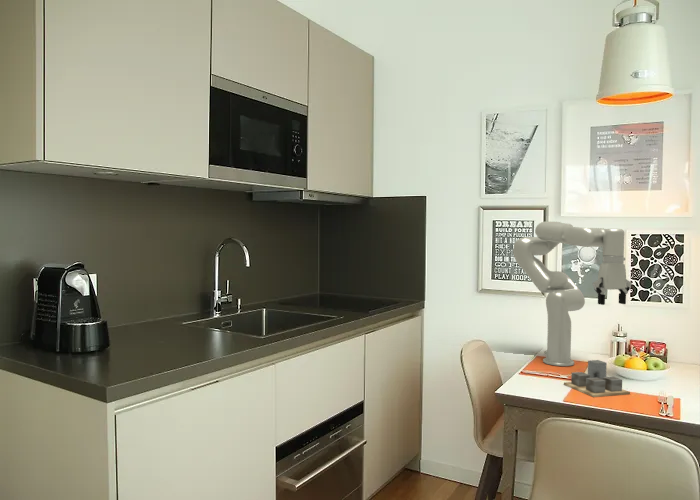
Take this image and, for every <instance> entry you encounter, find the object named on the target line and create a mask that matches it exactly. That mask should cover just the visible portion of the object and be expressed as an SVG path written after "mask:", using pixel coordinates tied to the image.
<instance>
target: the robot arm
mask: <svg viewBox="0 0 700 500" xmlns="http://www.w3.org/2000/svg"><path fill="white" fill-rule="evenodd" d="M534 231H535V232H534V233H535V236H524V237H520V238H518V239H516V241H515V242H514V243H513V247H512V248H513V249H512V250H513V251H512V252H513V257H514V259H515V262H516V263H517V264H518V266H519V267H520V268H521V269H522V270H523V271H524V273H525V274H526V275H527V277H528V278H529V279H530V280H531V282H532V283H533V285H534V286H535V287H536V289H538V291H539V292H540V293H543V294H547V295H546V297H545V298H546V299H545V306H546V312H547V313H546V314H547V339H546V341H547V343H546V345H547V346H546V350H545V351H543V354H544V355H545V357H544V358H543V359H542V362H543V363H544V364H546V365H550V366H557V367H569V366H570V367H571V366H574V365H575V361H574V360H573V359H572V358H571V354H572V353H571V352H572V351H571V349H572V348H571V347H572V320H571V316H570V314H569V312H576V311H580V310H581V309H582V308H584V306H585V303H586V301H585V300H586V299H585V296H584V294H583V292H582V291H581V289H580V288H579V287H578V285H577V284H576V283H575V282H574V281H573V280H572V279H571V278H570V276H569V275H568V274H567V273H565V272H563V271H558V270H554V271H553V270H549V269H548V268H547V267H546V266H545V264H544V262H542V260H540V259H539V258H537V257H536V256H545V255H548V254H549V253H550V252H551V251H553V250H554V249H555V248H556V247H557V246H558V245H559V244H565V245H570V246H577V247H583V248H585V247H586V248H589V247H590V248H597V247H598V248H601V247H602V263H600V265H599V269H598V272H597V273H598V274H597V279H596V280H595V281H594V282H592V286H593V289H594V291H595V293H596V294H597V304H598V305H602V306H604V305H606V294H605V292H606V291H609V290H611V291H612V290H618V291H619V293H618V304H620V305H621V304H622V305H626V303H627V294H628V292H629V291H630V290H631V286H632V284H633V282H631V281H630V280H628V279H627V270H626V264H624V263H625V261H626V257H625V230H623V229H622V228H604V227H600V228H599V227H579V226H574V225H572V224H571V223H566V222H565V223H564V222H561V221H548V220H547V221H542V222H539V223H538V224H537V225H536V226H535V229H534Z"/></svg>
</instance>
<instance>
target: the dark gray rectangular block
mask: <svg viewBox="0 0 700 500" xmlns="http://www.w3.org/2000/svg"><path fill="white" fill-rule="evenodd" d="M607 367H608V366H607V362H605V361H602V360H600V359H594V360H593V359H591V360H587V374H589V375H590V378H599V379H602V380H603V377H607Z"/></svg>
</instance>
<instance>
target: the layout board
mask: <svg viewBox="0 0 700 500" xmlns="http://www.w3.org/2000/svg"><path fill="white" fill-rule="evenodd" d="M570 376H571V379H570V380H571V381H569V382H567V381H566V382H565V381H564V382H563V385H564V386H566V387H568V388H571V389H573V390H576V391H578V392H580V393H583V394H585V395H588V396H590V397H592V398H598V397H601V398H602V397H613V396H625V395H631V392H630V390H629V391H628V390H626V389H624V388H623V379H622V378H619V377H616V376H606V377H603V380H602V379H599V378H590V375H589V374H588V373H585V372H583V371H579V372H576V371H575V372H571V374H570Z"/></svg>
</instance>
